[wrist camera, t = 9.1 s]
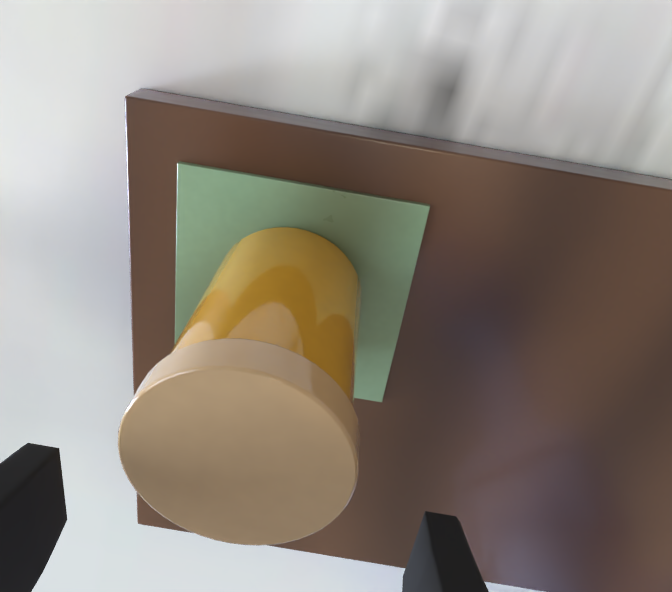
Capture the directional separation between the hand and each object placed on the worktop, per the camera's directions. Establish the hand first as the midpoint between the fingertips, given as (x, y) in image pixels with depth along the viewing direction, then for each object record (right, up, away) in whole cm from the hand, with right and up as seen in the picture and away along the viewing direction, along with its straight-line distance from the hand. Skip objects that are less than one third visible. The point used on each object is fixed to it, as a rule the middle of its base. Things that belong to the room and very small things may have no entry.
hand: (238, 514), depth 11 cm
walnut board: (+6, +1, +9) cm, 11 cm away
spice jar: (0, +4, +6) cm, 7 cm away
